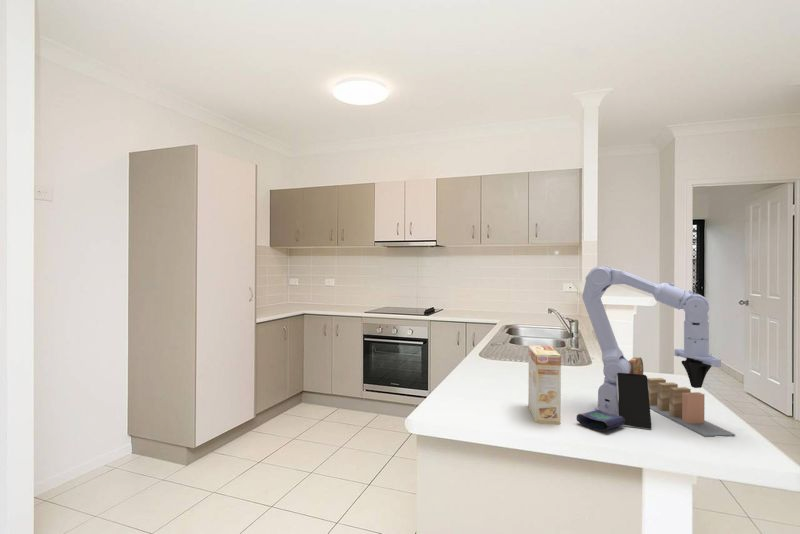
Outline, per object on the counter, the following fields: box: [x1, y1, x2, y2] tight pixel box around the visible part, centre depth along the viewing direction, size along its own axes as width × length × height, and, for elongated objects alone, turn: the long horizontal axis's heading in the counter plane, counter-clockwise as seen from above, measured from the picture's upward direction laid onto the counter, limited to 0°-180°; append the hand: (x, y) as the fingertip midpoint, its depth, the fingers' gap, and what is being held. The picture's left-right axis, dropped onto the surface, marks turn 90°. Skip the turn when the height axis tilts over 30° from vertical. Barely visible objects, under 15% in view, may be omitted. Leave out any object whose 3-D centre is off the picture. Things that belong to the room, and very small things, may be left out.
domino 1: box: [647, 377, 667, 406], centre depth 137 cm, size 2×5×8 cm, turn 94°
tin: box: [628, 357, 644, 375], centre depth 167 cm, size 15×3×8 cm, turn 139°
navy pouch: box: [576, 409, 625, 432], centre depth 119 cm, size 9×3×11 cm
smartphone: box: [616, 373, 652, 430], centre depth 121 cm, size 8×1×15 cm
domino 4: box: [682, 392, 706, 424], centre depth 121 cm, size 2×5×8 cm, turn 94°
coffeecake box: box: [527, 344, 562, 425], centre depth 128 cm, size 15×7×20 cm, turn 171°
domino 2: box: [657, 381, 679, 411], centre depth 131 cm, size 2×5×8 cm, turn 95°
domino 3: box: [669, 386, 692, 417], centre depth 126 cm, size 2×5×8 cm, turn 95°
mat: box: [650, 405, 737, 438], centre depth 129 cm, size 34×8×1 cm, turn 4°
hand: (696, 387), depth 120 cm, fingers closed
